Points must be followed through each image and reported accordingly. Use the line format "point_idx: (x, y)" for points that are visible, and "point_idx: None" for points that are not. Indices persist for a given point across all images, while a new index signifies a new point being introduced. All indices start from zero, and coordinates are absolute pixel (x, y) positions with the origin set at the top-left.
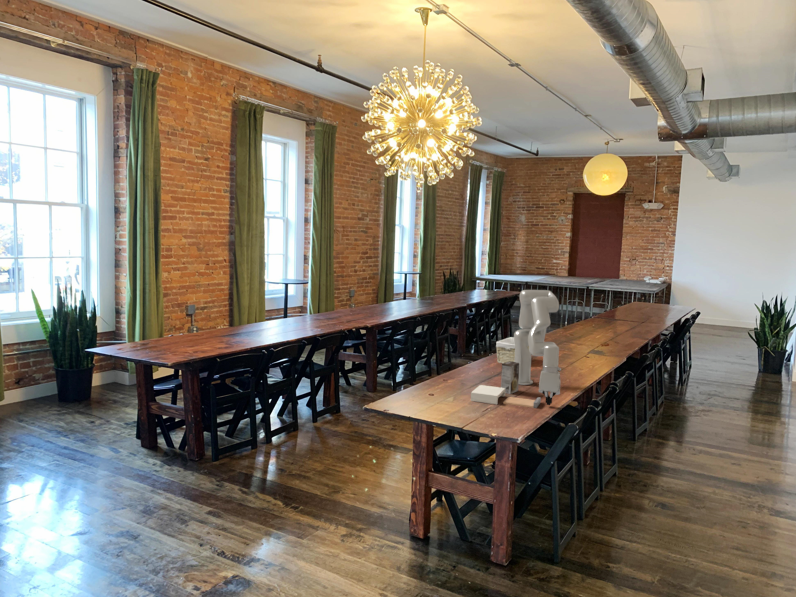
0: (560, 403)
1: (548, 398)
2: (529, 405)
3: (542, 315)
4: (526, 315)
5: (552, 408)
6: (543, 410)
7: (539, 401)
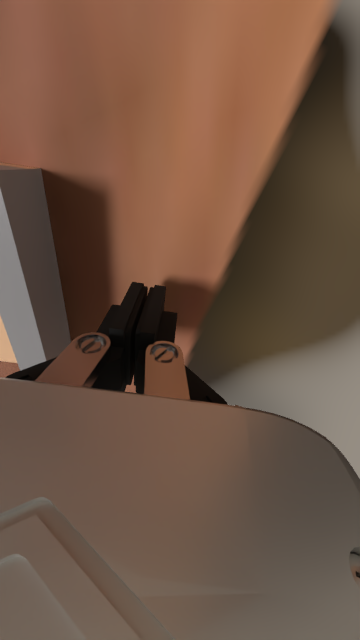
0: (296, 95)
1: (132, 368)
2: (11, 361)
3: None
4: None
5: (187, 331)
6: (129, 385)
7: (38, 257)
